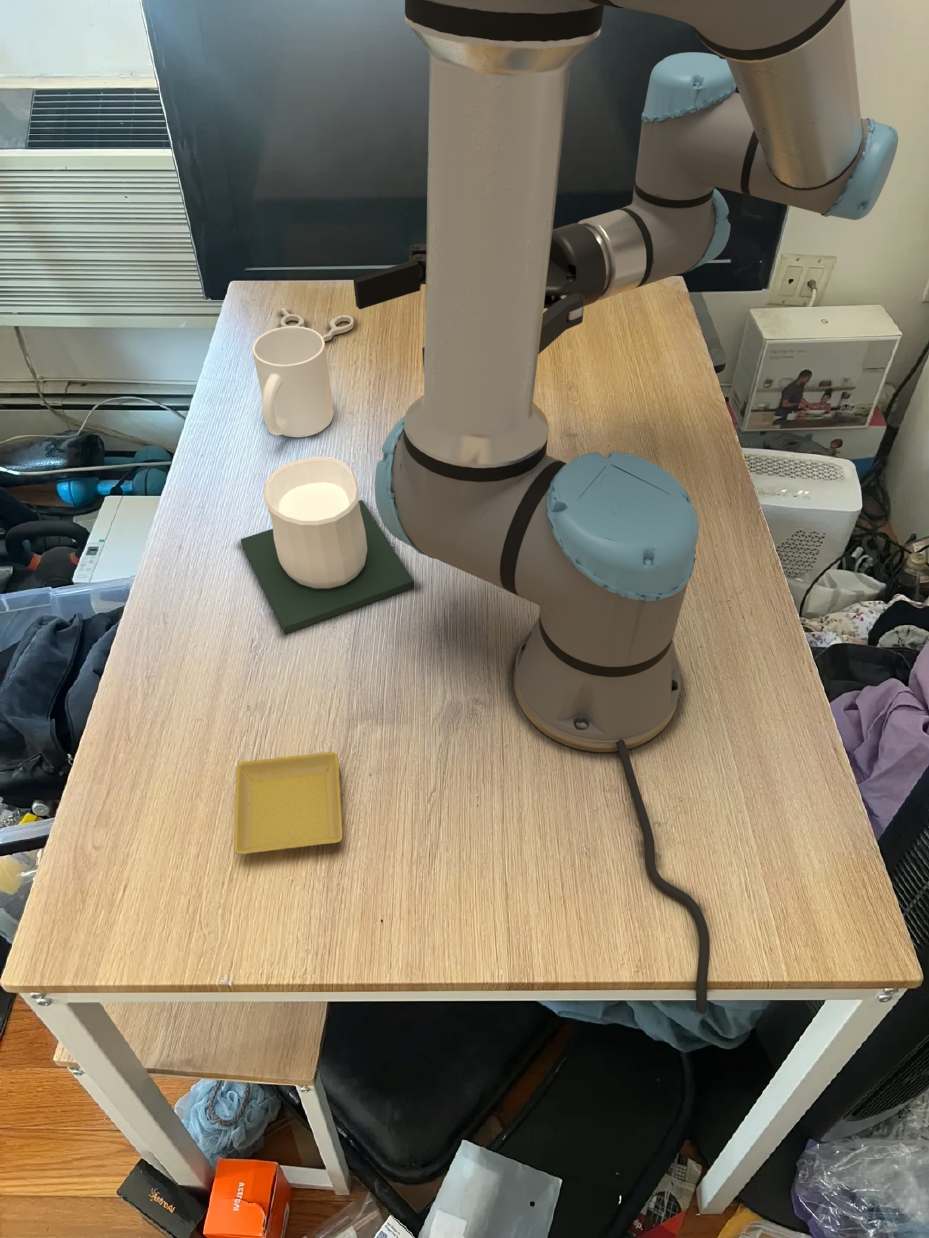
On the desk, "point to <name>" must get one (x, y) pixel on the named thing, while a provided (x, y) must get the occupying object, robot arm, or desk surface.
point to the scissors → (332, 324)
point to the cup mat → (314, 605)
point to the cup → (317, 521)
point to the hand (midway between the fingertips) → (388, 327)
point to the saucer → (287, 803)
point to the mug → (293, 381)
